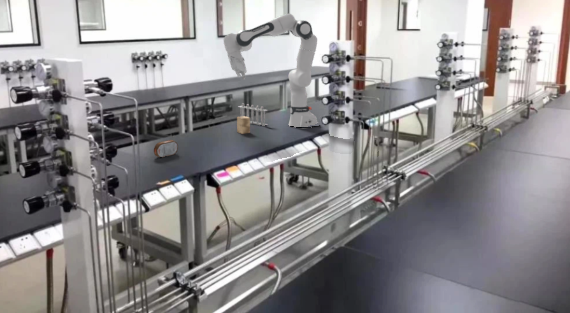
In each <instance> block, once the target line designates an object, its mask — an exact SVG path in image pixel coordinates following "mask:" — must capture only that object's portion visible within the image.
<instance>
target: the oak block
mask: <svg viewBox="0 0 570 313" xmlns="http://www.w3.org/2000/svg"><path fill="white" fill-rule="evenodd" d="M250 121H251V117H250V116H249V117H247V115H246V116H245V115H244V116H242V115H241V117H240V116H237V117H236V132H237V133H239V134H242V135H244V134H250V133H251V124H250Z"/></svg>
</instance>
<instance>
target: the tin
mask: <svg viewBox="0 0 570 313" xmlns="http://www.w3.org/2000/svg"><path fill="white" fill-rule="evenodd" d="M178 150H179V145H178V142H177V141H175V140H173V139H169V140H163V141H159V142H157V143H156V144H155V146H154V147H153V153H154V156H155V157H157V158H160V157H162V158H166V157H165V156H167V157H169V156H174V155H176V154H177V152H178Z"/></svg>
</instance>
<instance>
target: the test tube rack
mask: <svg viewBox="0 0 570 313" xmlns="http://www.w3.org/2000/svg"><path fill="white" fill-rule="evenodd" d="M237 108H239V109H240V110H239V111H240V112H239V114H240V116H239V117H242V116H245V109H246V117H249V118H250V125H252V124H253V125H256V126H260V125H262V126H261V127H266V126H265V125H267V126H268V125H269V124H268V123H266V112H268V111H269V109H264V106H260V108H259V105H256V106H255V105H254V104H251V106H250V104H249V103H247V104H246V106H245V103H243V102H242V103H241V105H238V106H237ZM254 111H255V112H254ZM259 111H260V122H259ZM254 114H255V115H254ZM254 116H255V117H254ZM254 120H255V121H254Z"/></svg>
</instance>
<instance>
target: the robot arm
mask: <svg viewBox="0 0 570 313" xmlns="http://www.w3.org/2000/svg"><path fill="white" fill-rule="evenodd" d="M287 32H290V33H291V34H292V36H294V37H297V38H300V46H299V49H298V52H297V55H296V68H295V69H291V70H290V71H289V73H288V80H289V87H290V108H289V109H290V110H289V111H290V112H289V113H290V115H289V116H290V118H289V122H288V125H289V126H288V127H290V126H294V127H293V128H296V127H308V126H310V125H315V124H317V123H318V120H317V119H318V118H317V116H316V115H315V114H313V113H312V112H311V110H312V108H313V107H312V106H308V93H307V89H306V87H308V86H310V85H311V83H312V68H313V61H314V58H315V54H316V51H317V44H318V37H317V35H315V34H314V33H313V28H312V25H311V22H309V21H307V20H301V19H299V20H297V19H296V18H295V16H294V15H293V14H292V13H285V14H282V15H280V16H277V17H275V18H272V19H271V20H269V21H267V22H265V23H263V24H260V25H258V26H255V27H254V28H250V29H243V30H240V31H238V32H237V34H235V33H233V32H231V33H227V35H225V36H224V38H223V44H224V48H225V51H226V54H227V59H228V61H229V63H230V67H231V70H232V71H233V72H235V74H236V75H237V77H238V78H242V80H246V73H248V72H247V71H248V70H247V68H246V64H245V58H244V57H243V55H242V52H248V51H249V50H251V48H252V45H253V41H254V40H255V39H258V38H260V37H262V36H265V35H270V37H278V36H280V35H282V34H284V33H287Z"/></svg>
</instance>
